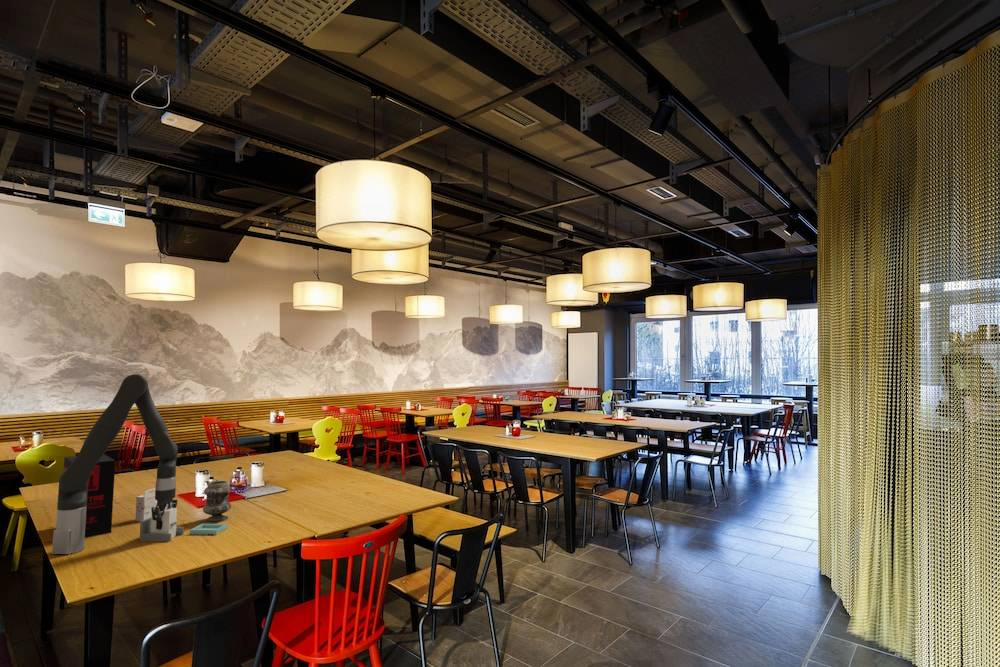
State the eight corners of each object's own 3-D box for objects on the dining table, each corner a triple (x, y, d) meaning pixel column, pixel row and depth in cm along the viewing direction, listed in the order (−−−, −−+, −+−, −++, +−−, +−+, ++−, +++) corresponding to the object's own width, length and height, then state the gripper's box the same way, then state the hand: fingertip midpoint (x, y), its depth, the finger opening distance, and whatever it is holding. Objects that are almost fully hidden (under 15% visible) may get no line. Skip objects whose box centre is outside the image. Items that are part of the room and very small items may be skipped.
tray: (216, 534, 228) (216, 530, 228) (189, 534, 228) (190, 529, 228) (227, 528, 237) (227, 524, 237) (202, 528, 237) (202, 523, 237)
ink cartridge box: (150, 516, 255) (151, 486, 256) (158, 517, 254) (159, 486, 255) (134, 521, 247) (136, 490, 248) (143, 522, 246) (144, 490, 247)
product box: (111, 532, 230) (115, 460, 232) (70, 540, 219) (74, 464, 221) (98, 520, 248) (102, 453, 250) (60, 527, 237) (64, 457, 239)
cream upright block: (170, 539, 221) (171, 511, 222) (150, 539, 222) (151, 510, 222) (177, 535, 226) (179, 508, 227) (158, 535, 227) (159, 507, 227)
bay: (169, 541, 219) (170, 522, 220) (139, 540, 219) (140, 521, 220) (183, 534, 229) (184, 515, 229) (154, 533, 229) (155, 515, 229)
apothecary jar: (221, 514, 259) (223, 478, 260) (235, 518, 253) (237, 481, 254) (197, 520, 249) (198, 482, 250) (211, 524, 242) (213, 486, 244)
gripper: (163, 491, 218) (160, 532, 217) (184, 484, 232) (182, 522, 231) (145, 491, 218) (143, 532, 217) (168, 483, 233) (166, 522, 231)
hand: (163, 527), depth 224 cm, fingers closed on cream upright block, 5 cm apart
